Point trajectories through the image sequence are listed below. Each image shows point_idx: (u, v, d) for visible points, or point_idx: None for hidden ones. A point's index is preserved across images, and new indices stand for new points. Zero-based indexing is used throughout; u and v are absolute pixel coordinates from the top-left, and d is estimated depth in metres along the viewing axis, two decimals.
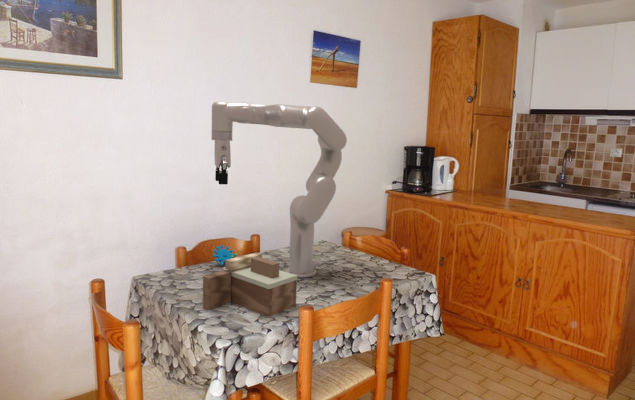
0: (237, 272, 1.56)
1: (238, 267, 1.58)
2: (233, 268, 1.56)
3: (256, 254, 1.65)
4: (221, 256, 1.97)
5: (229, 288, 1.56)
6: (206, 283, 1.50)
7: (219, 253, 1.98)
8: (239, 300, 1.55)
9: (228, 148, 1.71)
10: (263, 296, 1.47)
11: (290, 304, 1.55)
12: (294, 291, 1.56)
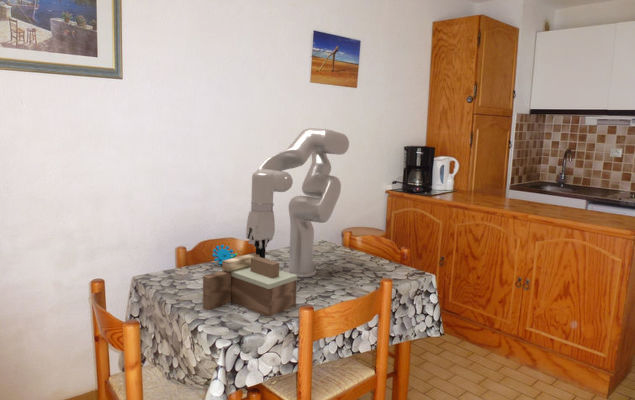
0: (237, 272, 1.56)
1: (235, 268, 1.57)
2: (230, 269, 1.55)
3: (253, 255, 1.64)
4: (220, 256, 1.98)
5: (229, 288, 1.56)
6: (206, 283, 1.50)
7: (219, 253, 1.98)
8: (239, 300, 1.55)
9: None
10: (263, 296, 1.47)
11: (290, 304, 1.55)
12: (294, 291, 1.56)
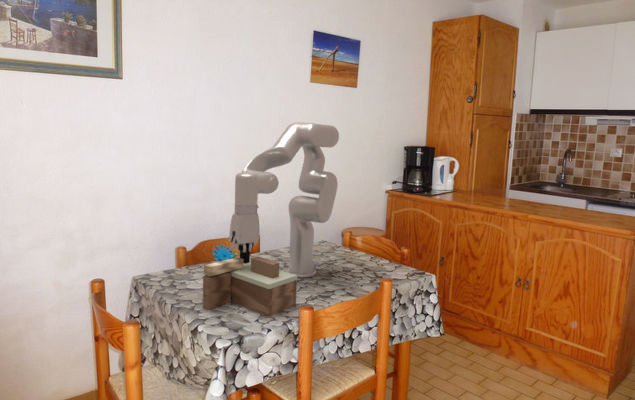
0: (237, 272, 1.56)
1: (217, 273, 1.51)
2: (212, 274, 1.49)
3: (237, 259, 1.58)
4: (220, 256, 1.98)
5: (229, 288, 1.56)
6: (206, 283, 1.50)
7: (219, 253, 1.98)
8: (239, 300, 1.55)
9: None
10: (263, 296, 1.47)
11: (290, 304, 1.55)
12: (294, 291, 1.56)
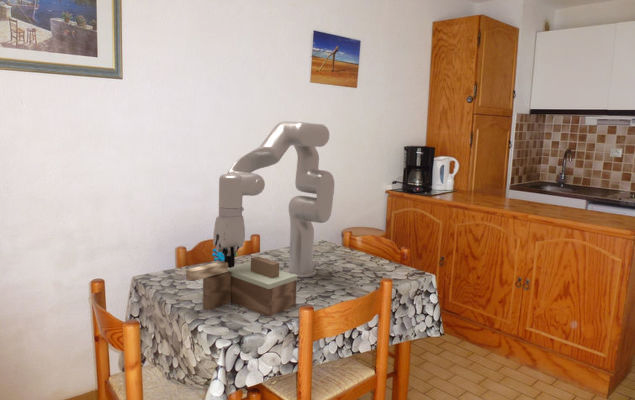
0: (237, 272, 1.56)
1: (200, 277, 1.46)
2: (194, 278, 1.44)
3: (221, 263, 1.53)
4: (220, 255, 1.98)
5: (229, 288, 1.56)
6: (206, 283, 1.50)
7: (218, 252, 1.98)
8: (239, 300, 1.55)
9: None
10: (263, 296, 1.47)
11: (290, 304, 1.55)
12: (294, 291, 1.56)
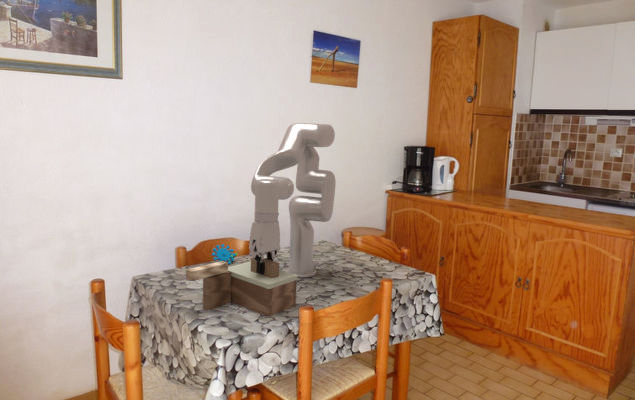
0: (237, 272, 1.56)
1: (200, 277, 1.46)
2: (194, 278, 1.44)
3: (221, 263, 1.53)
4: (220, 255, 1.99)
5: (229, 288, 1.56)
6: (206, 283, 1.50)
7: (218, 252, 1.99)
8: (239, 300, 1.55)
9: None
10: (263, 296, 1.47)
11: (290, 304, 1.55)
12: (294, 291, 1.56)
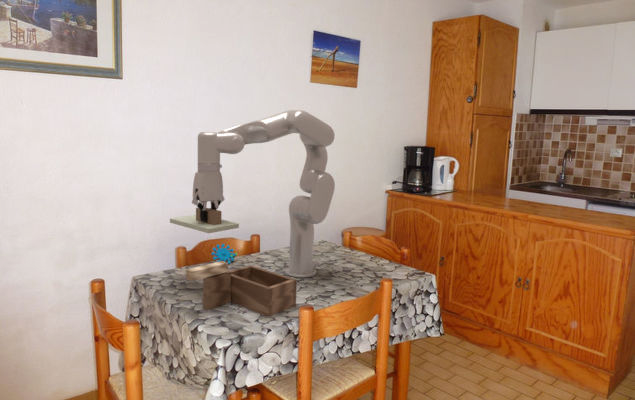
0: (182, 220, 1.66)
1: (200, 277, 1.46)
2: (194, 278, 1.44)
3: (221, 263, 1.53)
4: (220, 255, 1.99)
5: (229, 288, 1.56)
6: (206, 283, 1.50)
7: (218, 252, 2.00)
8: (239, 300, 1.55)
9: None
10: (263, 296, 1.47)
11: (290, 304, 1.55)
12: (294, 291, 1.56)
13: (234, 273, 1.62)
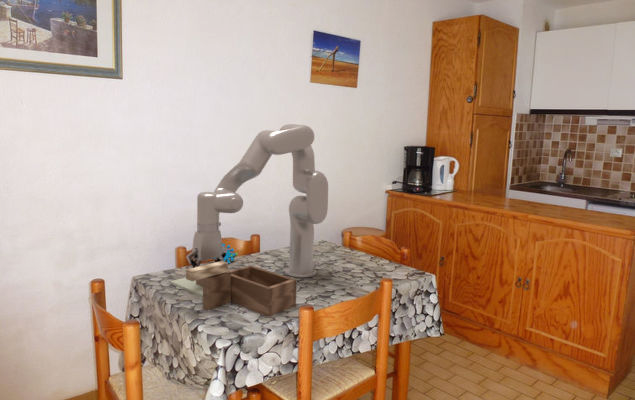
0: (183, 284, 1.70)
1: (200, 277, 1.46)
2: (194, 278, 1.44)
3: (221, 263, 1.53)
4: None
5: (229, 288, 1.56)
6: (206, 283, 1.50)
7: None
8: (239, 300, 1.55)
9: None
10: (263, 296, 1.47)
11: (290, 304, 1.55)
12: (294, 291, 1.56)
13: (234, 273, 1.62)
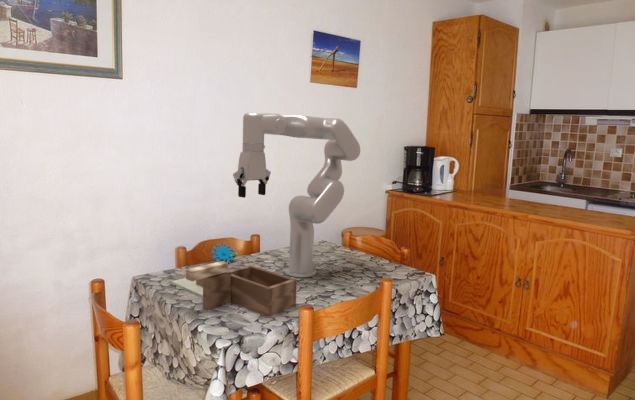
0: (183, 284, 1.70)
1: (200, 277, 1.46)
2: (194, 278, 1.44)
3: (221, 263, 1.53)
4: (219, 254, 2.00)
5: (229, 288, 1.56)
6: (206, 283, 1.50)
7: (218, 251, 2.01)
8: (239, 300, 1.55)
9: None
10: (263, 296, 1.47)
11: (290, 304, 1.55)
12: (294, 291, 1.56)
13: (234, 273, 1.62)
